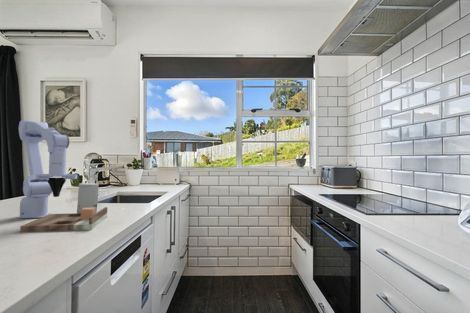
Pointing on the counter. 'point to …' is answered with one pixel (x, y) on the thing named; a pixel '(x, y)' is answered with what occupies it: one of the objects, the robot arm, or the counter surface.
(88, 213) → the terracotta block
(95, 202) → the skincare box
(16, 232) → the counter surface
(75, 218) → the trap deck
